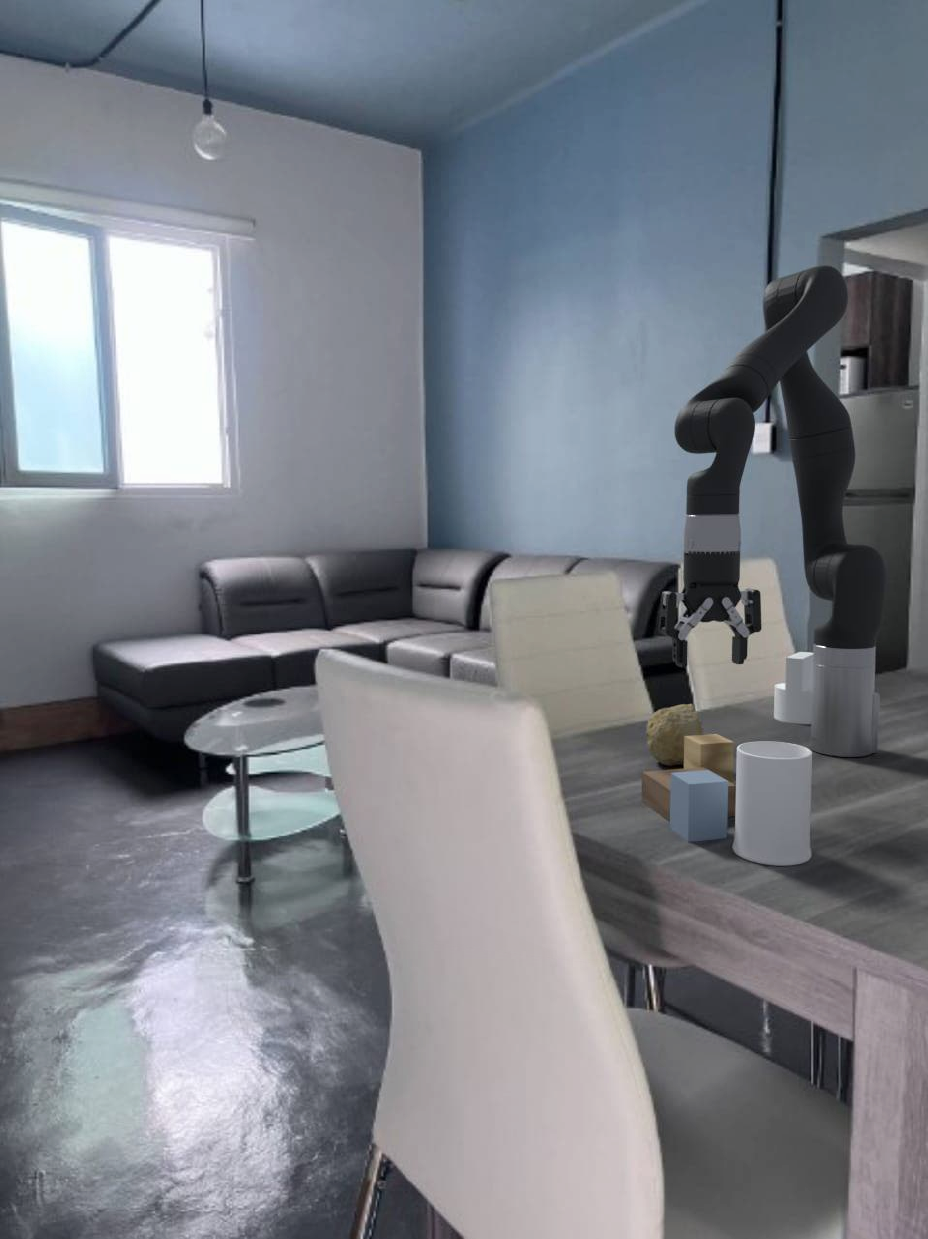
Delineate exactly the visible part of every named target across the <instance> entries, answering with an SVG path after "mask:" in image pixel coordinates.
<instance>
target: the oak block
mask: <svg viewBox="0 0 928 1239" xmlns="http://www.w3.org/2000/svg"><path fill="white" fill-rule="evenodd" d="M734 748H735V742H734V741H732V740H730V739H728V738H726V737H724V736H722V735H720V734H718V733H713V734H712V733H711V734H709V733H708V734H703V735H693V736H684V765H683V769H685V768H699V767H704V768H706V769H708V770H710V771H711V772H713V773H715V774H717V775H719V776H720V777H722V778H724V779H726V780H728V781H729V782H731V783H733V784H734V755H735V754H734V751H735V749H734Z"/></svg>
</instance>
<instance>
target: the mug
mask: <svg viewBox="0 0 928 1239" xmlns="http://www.w3.org/2000/svg"><path fill="white" fill-rule="evenodd" d="M735 765H736V766H735V767H736V768H735V769H736V770H735V772H736V773H735V775H736V776H735V779H736V780H735V785H736V811H735V816H734V818H735V819H734V821H735V822H734V823H735V824H734V839H733V843H732V845H731V846H732V851H733V852H734V854H735V855H737V856H738V857H740V858H741V859H744V860H746V861H749V862H751V863H756V864H761V865H767V866H776V867H787V866H788V867H789V866H790V867H791V866H796V865H797V866H798V865H801V864H804V863H806V862H808V861H810V860H811V858H812V850H811V838H810V837H811V804H812V802H811V801H812V800H811V799H812V777H813V776H812V771H813V767H812V766H813V750H812V749H811V748H808V747H805V746H803V745H800V744H794V743H789V742H782V741H772V740H769V741H768V740H766V741H765V740H762V741H761V740H759V741H748V742H744V743H741V744H739V745H738V746H736V764H735Z"/></svg>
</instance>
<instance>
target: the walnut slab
mask: <svg viewBox="0 0 928 1239" xmlns="http://www.w3.org/2000/svg"><path fill="white" fill-rule="evenodd" d="M702 770H708V769H706V768H704V767H699V768H685V769H684V768H674V769H662V770H661V769H660V770H650V771H649V770H648V771H641V802H643V803H644V804H645V805H647V806H648V807H649V808H651V809H652V810H653V811H655V812H656V813H657V814H659V815H661V816H662V817H663V818H664V819H665V820H667V821H668V822H670V779H671V773H676V772H689V771H702ZM709 771H710V770H709ZM714 774H715V773H714ZM716 775H717V774H716ZM718 776H719V775H718ZM721 778H722V777H721ZM723 779H724V778H723ZM725 780H726V779H725ZM727 781H728V780H727ZM735 811H736V783H734V782H733V783H731V782H729V781H728V810H727V818H730V817H735Z"/></svg>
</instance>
